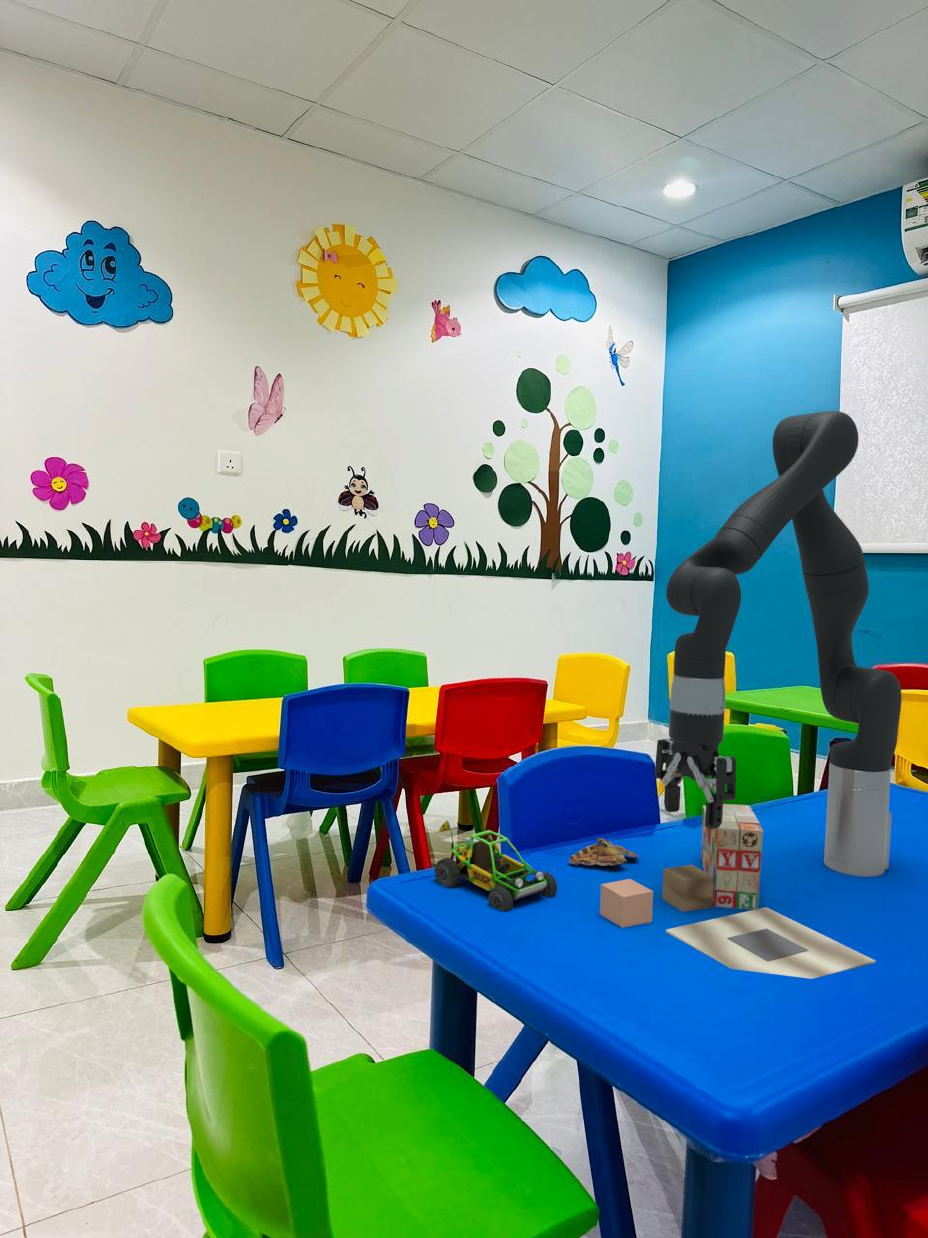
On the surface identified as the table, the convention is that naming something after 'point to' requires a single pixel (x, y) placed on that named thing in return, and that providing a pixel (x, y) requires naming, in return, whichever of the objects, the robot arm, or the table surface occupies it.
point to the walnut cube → (687, 888)
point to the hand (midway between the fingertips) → (691, 819)
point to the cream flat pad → (769, 945)
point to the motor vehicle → (492, 871)
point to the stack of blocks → (734, 857)
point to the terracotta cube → (626, 903)
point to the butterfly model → (601, 854)
